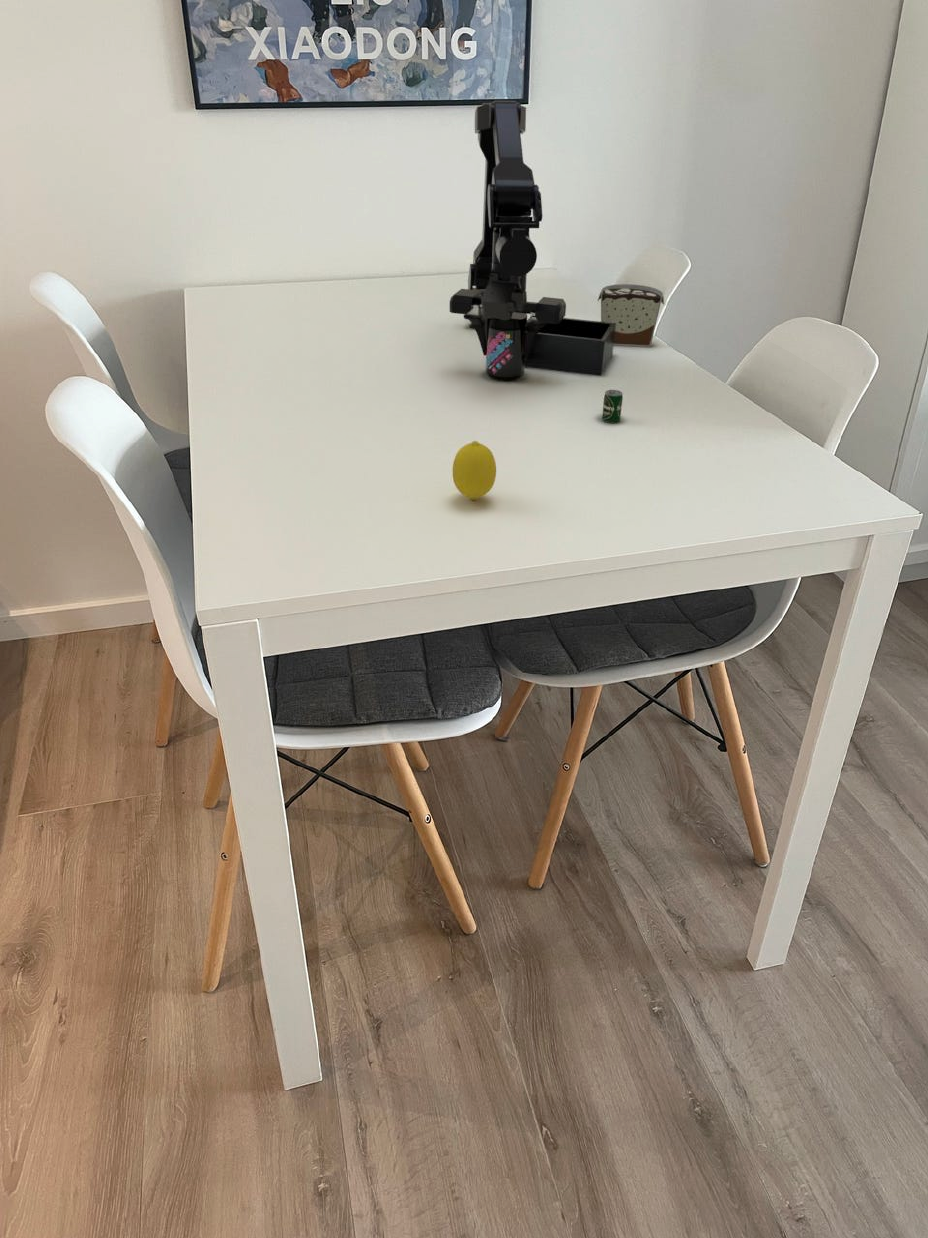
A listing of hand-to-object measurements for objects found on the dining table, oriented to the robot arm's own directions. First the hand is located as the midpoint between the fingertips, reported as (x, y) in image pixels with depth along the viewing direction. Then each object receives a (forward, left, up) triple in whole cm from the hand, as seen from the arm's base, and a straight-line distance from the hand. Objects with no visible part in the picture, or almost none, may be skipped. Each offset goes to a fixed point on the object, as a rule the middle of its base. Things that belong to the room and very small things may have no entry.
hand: (505, 357), depth 156 cm
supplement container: (0, 0, -3) cm, 3 cm away
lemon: (+9, -48, -4) cm, 49 cm away
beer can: (+21, -14, -3) cm, 25 cm away
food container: (+17, +28, -3) cm, 33 cm away
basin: (+8, +12, -3) cm, 15 cm away
